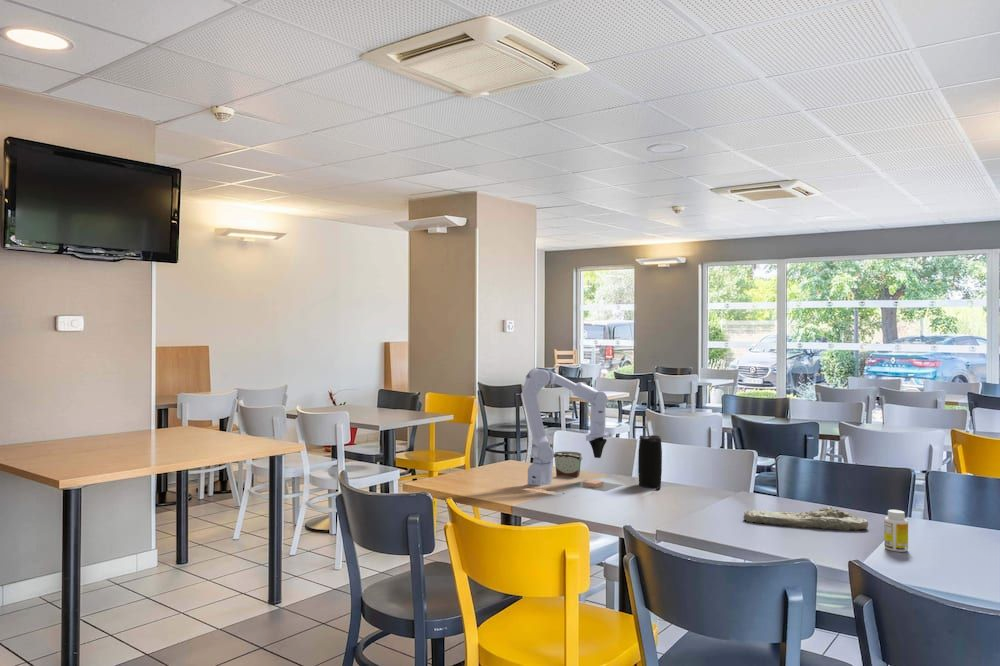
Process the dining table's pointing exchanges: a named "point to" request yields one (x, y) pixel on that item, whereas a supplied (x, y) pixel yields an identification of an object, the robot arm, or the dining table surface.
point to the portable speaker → (650, 461)
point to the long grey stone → (809, 519)
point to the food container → (568, 463)
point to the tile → (593, 483)
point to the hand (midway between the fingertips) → (597, 457)
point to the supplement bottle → (896, 531)
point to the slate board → (603, 488)
